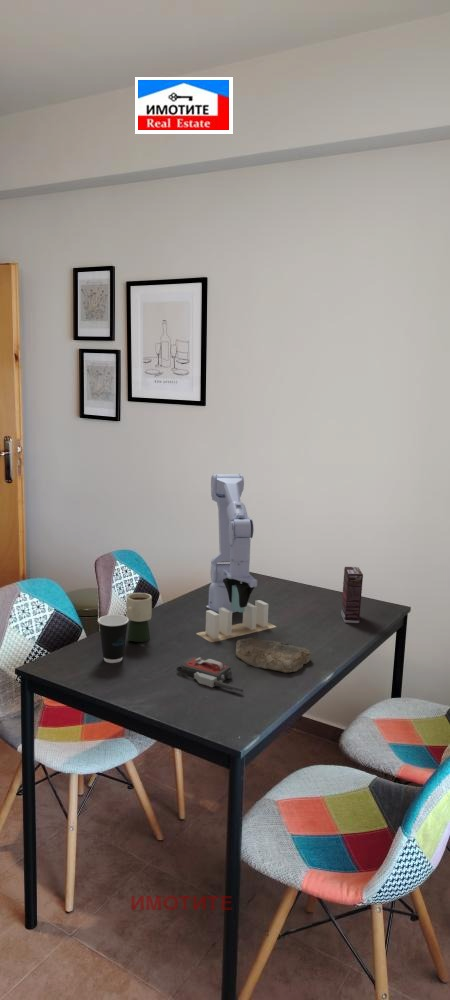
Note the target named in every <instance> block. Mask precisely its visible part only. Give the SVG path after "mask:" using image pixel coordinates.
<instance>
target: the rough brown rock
mask: <svg viewBox="0 0 450 1000" xmlns="http://www.w3.org/2000/svg"><path fill="white" fill-rule="evenodd" d="M235 655H236V657H237V658H238V659H241V661H242V662H245V664H246V665H250V666H252V667H255V668H261V669H263V670H271V671H278V672H282V673H292V672H298V671H299V670H301V669H302V668H303V666H304V665H305V664H306V665H307V664H308V663H309V662H311V660H312V658H311V656H312V655H313V653H312V652H311V650H309V649H307V648H306V647H301V646H296V645H293V644H291V645H290V644H288V643H286V642H285V643H284V642H282V641H276V640H275V641H274V640H266V639H262V638H256V637H248V638H246V637H245V638H242V639H237V641H236V644H235Z"/></svg>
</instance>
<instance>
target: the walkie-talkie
mask: <svg viewBox="0 0 450 1000" xmlns="http://www.w3.org/2000/svg"><path fill="white" fill-rule="evenodd" d="M231 669H232V667H231V666H228V665H225V664H224V663H223V662H222V661H219V660H216V659H212V658H207V659H203V658H202V657H195V656H191V657H189V658H188V659H186V660H184V661H182V663H181V666H177V667H176V671H177V672H179V673H181V675H183V676H186V677H189V678H190V677H191V678H192V679H195V680H196V681H197V683H198V684H200V685H203V686H207V687H210V688H213V687H215V686H216V687H221V688H224V689H228V690H230V691H232V690H235V691H239V692H241V693H242V692H244V689H243V688H242V687H239V686H236V685H232V684H228V683H225V681H226V680H228V679H229V680H230V679H231V678H232V675H233V672H232V670H231Z"/></svg>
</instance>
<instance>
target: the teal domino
mask: <svg viewBox="0 0 450 1000" xmlns="http://www.w3.org/2000/svg"><path fill="white" fill-rule="evenodd" d="M231 608H232V609H234V610H236V611H238V612H237V613H243V612H244V611H245V607H242V608H241V607H240V606H239V594H238V589H237V587H236V585H232V603H231Z"/></svg>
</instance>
